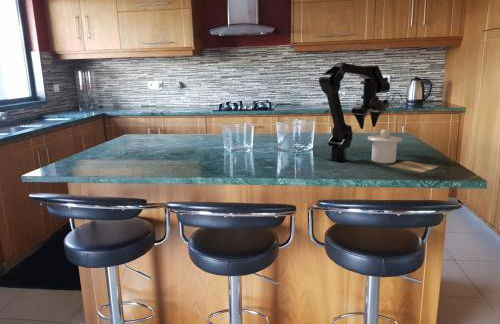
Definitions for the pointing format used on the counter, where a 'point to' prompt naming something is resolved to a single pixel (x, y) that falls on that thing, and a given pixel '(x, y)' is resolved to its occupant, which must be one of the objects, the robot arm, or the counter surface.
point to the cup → (384, 152)
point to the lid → (385, 137)
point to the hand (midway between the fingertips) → (367, 127)
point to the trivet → (413, 166)
